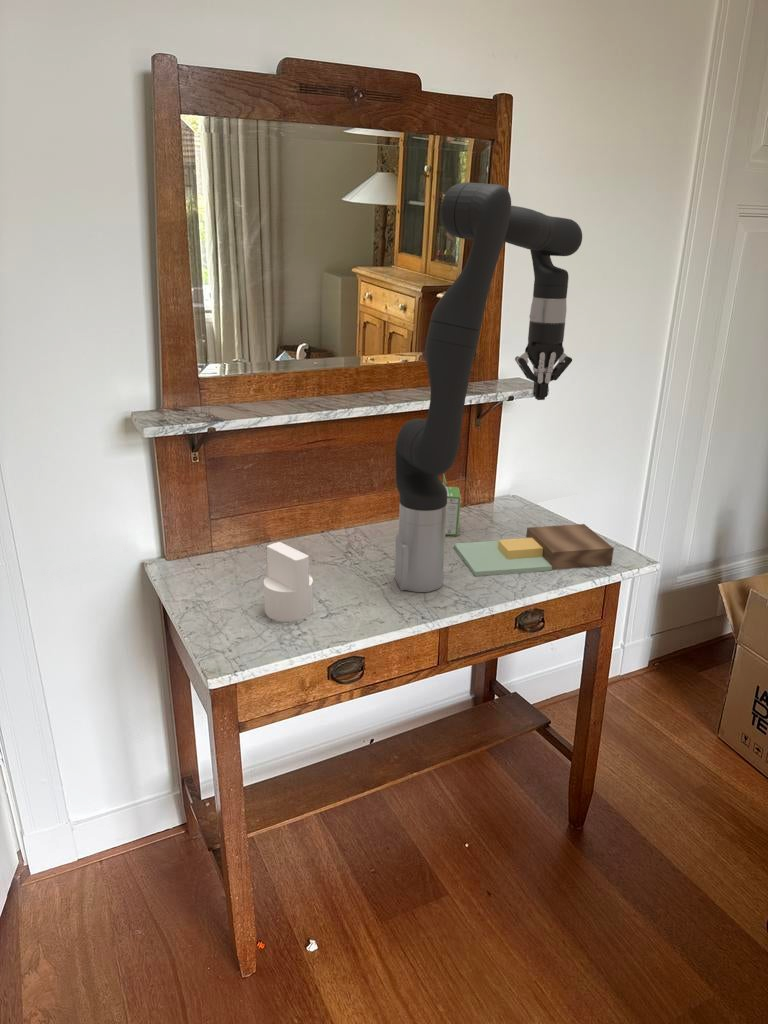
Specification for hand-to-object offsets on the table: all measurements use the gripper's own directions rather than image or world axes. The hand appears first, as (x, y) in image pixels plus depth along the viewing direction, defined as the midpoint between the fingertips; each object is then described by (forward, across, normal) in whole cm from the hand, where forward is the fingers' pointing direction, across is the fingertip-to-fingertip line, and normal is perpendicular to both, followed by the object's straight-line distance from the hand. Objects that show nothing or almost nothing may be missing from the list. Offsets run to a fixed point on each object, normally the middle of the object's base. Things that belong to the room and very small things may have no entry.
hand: (539, 399), depth 168 cm
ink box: (+32, -18, +4) cm, 37 cm away
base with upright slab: (+32, -59, -29) cm, 73 cm away
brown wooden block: (+32, +4, -14) cm, 35 cm away
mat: (+32, -12, -14) cm, 37 cm away
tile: (+31, -7, -13) cm, 34 cm away
